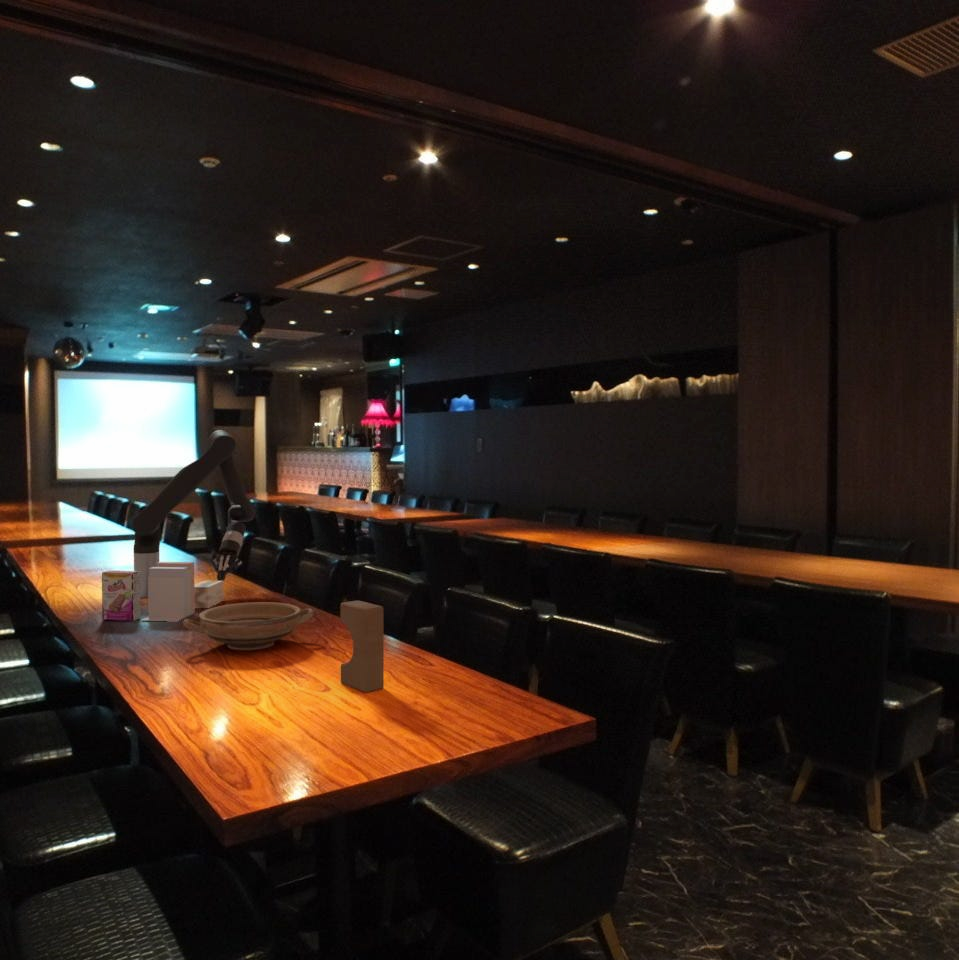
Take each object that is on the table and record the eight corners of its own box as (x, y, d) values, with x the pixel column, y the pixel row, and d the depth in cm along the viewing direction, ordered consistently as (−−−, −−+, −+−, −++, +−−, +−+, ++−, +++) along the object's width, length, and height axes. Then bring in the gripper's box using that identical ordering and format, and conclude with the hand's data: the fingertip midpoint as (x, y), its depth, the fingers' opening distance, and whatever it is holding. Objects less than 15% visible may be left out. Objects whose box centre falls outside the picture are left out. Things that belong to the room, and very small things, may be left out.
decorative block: (339, 683, 194) (339, 602, 193) (359, 678, 198) (359, 599, 197) (364, 693, 186) (364, 609, 185) (384, 688, 189) (384, 606, 189)
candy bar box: (101, 621, 262) (100, 572, 262) (109, 618, 267) (109, 570, 267) (133, 622, 261) (132, 572, 261) (141, 618, 266) (140, 570, 266)
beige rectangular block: (189, 609, 283) (188, 587, 283) (204, 601, 297) (204, 580, 297) (208, 609, 283) (207, 587, 283) (223, 601, 297) (222, 580, 297)
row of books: (141, 621, 262) (141, 567, 261) (161, 612, 276) (160, 561, 275) (176, 622, 261) (176, 568, 260) (194, 613, 275) (194, 562, 274)
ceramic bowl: (189, 664, 210) (188, 627, 210) (178, 641, 236) (178, 607, 235) (325, 649, 226) (325, 615, 226) (301, 628, 252) (301, 597, 252)
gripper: (212, 539, 311) (200, 574, 300) (244, 538, 310) (234, 574, 299) (218, 550, 317) (206, 586, 305) (250, 550, 316) (239, 586, 304)
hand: (220, 580), depth 302 cm, fingers closed
